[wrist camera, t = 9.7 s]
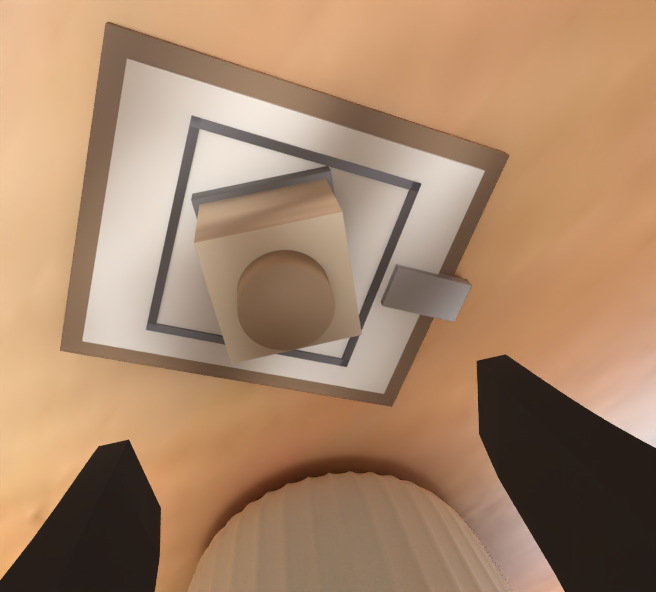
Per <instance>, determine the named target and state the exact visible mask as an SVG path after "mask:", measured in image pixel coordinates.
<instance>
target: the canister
mask: <svg viewBox="0 0 656 592" xmlns="http://www.w3.org/2000/svg"><path fill="white" fill-rule="evenodd" d="M187 592H512V591H511V589H510V588H509V586H508V584H507V583H506V581H505V580H504V578H503V576H502V575H501V573H500V572H499V570H498V569H497V567H496V565H495V564H494V562H493V561H492V559H491V558H490V556H489V554H488V553H487V551H486V550H485V548H484V547H483V545H482V544H481V542H480V541H479V539H478V538H477V536H476V535H475V534H474V533H473V531H472V530H471V529H470V528H469V526H468V525H467V524H466V523H465V522H464V521H463V520H462V518H461V517H460V516H459V514H458V513H457V512H456V511H455V510H454V509H453V508H452V507H450V506H449V505H448V504H447V503H445V502H444V501H442V500H440V499H439V497H437V496H436V495H435V494H433V493H432V492H430V491H429V490H427V489H424V488H420V487H419V486H417V485H416V484H415V483H413V482H411V481H407V480H399V479H398V478H396V477H394V476H392V475H384V476H383V475H377V474H375V473H373V472H366V473H354V472H351V471H348V472H346V473H341V474H332V473H327V474H326V475H324V476H320V477H313V478H311V477H307V478H306V479H304V480H302V481H299V482H296V483H287V484H286V485H285V486H284V487H282V488H280V489H278V490H276V491H270V492H267V493H266V494H265V495H264V496H263V497H262V498H261V499H259V500H257V501H253V502H250V503H249V504H248V505H247V506H246V507H245V508H244V510H243V511H242V512H240V513H237V514H235V515H234V516H233V517H232V518H231V519H230V520H229V521H228V522H227V524H226V526H225V527H223V528H222V529H221V530H219V532H218V533H217V534H216V535H215V536H214V538H213V540H212V541H211V543H210V545H209V547H208V548H207V549H206V550H205V552H204V553H203V555H202V557H201V558H200V560H199V563H198V565H197V567H196V570H195V573H194V576H193V578H192V580H191V582H190V585H189V588H188V591H187Z"/></svg>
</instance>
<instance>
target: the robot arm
mask: <svg viewBox="0 0 656 592" xmlns="http://www.w3.org/2000/svg"><path fill="white" fill-rule="evenodd" d="M477 382H478V412H479V434H480V437H481V439H482V442H483V444H484V446H485V449H486V451H487V453H488V456H489V458H490V460H491V462H492V465H493V467H494V469H495V471H496V473H497V476H498V478H499V480H500V481H501V483H502V485H503V487H504V488H505V490H506V492H507V493H508V495H509V497H510V499H511V500H512V502H513V504H514V505H515V507H516V509H517V510H518V512H519V514H520V516H521V517H522V519H523V521H524V522H525V524H526V526H527V527H528V529H529V531H530V532H531V534H532V536H533V537H534V539H535V541H536V543H537V544H538V546H539V548H540V549H541V551H542V553H543V554H544V556H545V558H546V559H547V561H548V563H549V564H550V566H551V568H552V569H553V571H554V573H555V575H556V576H557V578H558V580H559V582H560V584H561V586H562V587H563V589H564V591H565V592H656V448H654V447H653V446H651V445H649V444H647V443H645V442H643V441H641V440H639V439H638V438H636V437H634V436H632V435H631V434H629V433H627V432H625V431H623V430H622V429H620V428H618V427H616V426H615V425H613V424H611V423H609V422H608V421H606V420H604V419H603V418H601V417H599V416H598V415H596V414H594V413H593V412H591V411H590V410H588V409H586V408H585V407H583V406H582V405H580V404H579V403H577V402H575V401H574V400H572V399H571V398H569V397H568V396H566V395H565V394H563V393H562V392H560V391H559V390H557V389H556V388H554V387H553V386H551V385H550V384H548V383H547V382H545V381H544V380H542V379H541V378H539V377H538V376H536V375H535V374H533V373H532V372H530V371H529V370H528V369H526V368H525V367H523V366H522V365H520V364H519V363H517V362H516V361H514V360H513V359H511V358H510V357H508V356H507V355H501V356H497V357H492V358H488V359H483V360H479V361H477ZM160 525H161V507H160V505H159V503H158V501H157V499H156V497H155V495H154V492H153V490H152V488H151V486H150V484H149V482H148V480H147V477H146V475H145V473H144V471H143V469H142V467H141V465H140V462H139V460H138V458H137V456H136V454H135V452H134V450H133V447H132V445H131V443H130V441H129V440H125V441H121V442H116V443H112V444H107V445H103V446H99V447H98V448H97V449H96V451H95V452H94V453H93V455H92V456H91V458H90V459H89V460H88V462H87V463H86V465H85V466H84V468H83V469H82V470H81V472H80V473H79V475H78V476H77V478H76V479H75V480H74V482H73V483H72V485H71V486H70V488H69V489H68V490H67V492H66V493H65V495H64V496H63V498H62V499H61V500H60V502H59V503H58V505H57V506H56V508H55V509H54V510H53V512H52V513H51V514H50V516H49V517H48V519H47V520H46V521H45V523H44V524H43V526H42V527H41V528H40V530H39V531H38V532H37V534H36V535H35V537H34V538H33V539H32V541H31V542H30V543H29V544H28V546H27V547H26V548H25V550H24V551H23V552H22V553H21V555H20V556H19V557H18V559H17V560H16V561H15V562H14V564H13V565H12V566H11V567H10V569H9V570H8V571H7V573H6V574H5V575H4V576H3V578H2V579H1V580H0V592H155V585H156V578H157V572H158V565H159V556H160Z"/></svg>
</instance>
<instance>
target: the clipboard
mask: <svg viewBox="0 0 656 592" xmlns="http://www.w3.org/2000/svg"><path fill="white" fill-rule="evenodd" d="M508 157H509V155H508V154H507V153H505V152H502V151H499V150H496V149H493V148H490V147H487V146H484V145H481V144H478V143H475V142H472V141H469V140H466V139H463V138H460V137H457V136H454V135H451V134H448V133H444V132H441V131H438V130H435V129H432V128H429V127H426V126H423V125H420V124H417V123H414V122H411V121H408V120H405V119H402V118H399V117H396V116H393V115H390V114H387V113H384V112H381V111H378V110H374V109H371V108H368V107H365V106H362V105H359V104H356V103H353V102H350V101H347V100H344V99H341V98H338V97H335V96H332V95H329V94H326V93H323V92H320V91H317V90H314V89H311V88H308V87H304V86H301V85H298V84H295V83H292V82H289V81H286V80H283V79H280V78H277V77H274V76H271V75H268V74H265V73H262V72H259V71H256V70H253V69H250V68H247V67H244V66H241V65H237V64H234V63H231V62H228V61H225V60H222V59H219V58H216V57H213V56H210V55H207V54H204V53H201V52H198V51H195V50H192V49H189V48H186V47H183V46H180V45H177V44H174V43H171V42H167V41H164V40H161V39H158V38H155V37H152V36H149V35H146V34H143V33H140V32H137V31H134V30H131V29H128V28H125V27H122V26H119V25H116V24H113V23H110V22H107V23H106V25H105V32H104V39H103V46H102V53H101V60H100V68H99V75H98V82H97V89H96V96H95V103H94V111H93V118H92V125H91V132H90V139H89V147H88V154H87V161H86V168H85V175H84V182H83V190H82V197H81V204H80V211H79V218H78V225H77V233H76V240H75V247H74V254H73V261H72V268H71V276H70V283H69V290H68V297H67V304H66V312H65V319H64V326H63V333H62V340H61V347H60V351H65V352H71V353H77V354H83V355H89V356H95V357H101V358H106V359H112V360H118V361H124V362H130V363H136V364H142V365H148V366H154V367H160V368H166V369H172V370H178V371H184V372H190V373H196V374H201V375H207V376H213V377H219V378H225V379H231V380H237V381H243V382H249V383H255V384H261V385H267V386H273V387H279V388H285V389H291V390H297V391H302V392H308V393H314V394H320V395H326V396H332V397H338V398H344V399H350V400H356V401H362V402H368V403H374V404H380V405H386V406H393V403H394V401H395V399H396V397H397V395H398V393H399V391H400V388H401V386H402V384H403V382H404V380H405V378H406V376H407V373H408V371H409V369H410V367H411V365H412V363H413V361H414V358H415V356H416V354H417V352H418V350H419V348H420V346H421V343H422V341H423V339H424V337H425V335H426V333H427V331H428V328H429V326H430V324H431V322H432V320H433V318H438V319H443V320H447V321H452V322H455V319H456V317H457V315H458V313H459V311H460V309H461V307H462V305H463V303H464V301H465V299H466V297H467V295H468V293H469V291H470V289H471V287H472V285H471V284H470V283H469V282H468V280H467V279H463V278H458V277H454V276H453V275H454V273H455V271H456V269H457V266H458V264H459V262H460V260H461V258H462V256H463V254H464V251H465V249H466V247H467V245H468V243H469V241H470V239H471V236H472V234H473V232H474V230H475V228H476V226H477V224H478V221H479V219H480V217H481V215H482V213H483V211H484V209H485V206H486V204H487V202H488V200H489V198H490V196H491V194H492V191H493V189H494V187H495V185H496V183H497V181H498V179H499V176H500V174H501V172H502V170H503V168H504V166H505V164H506V161H507V159H508ZM324 166H329V168H330V170H331V174H332V180H333V186H334V192H335V198H336V200H337V202H338V204H339V206H340V208H341V210H342V212H343V218H344V225H345V231H346V237H347V244H348V250H349V256H350V263H351V269H352V275H353V282H354V288H355V294H356V301H357V307H358V313H359V320H360V326H361V332H362V335H359V336H354V337H350V338H345V339H341V340H336V341H332V342H328V343H323V344H319V345H314V346H310V347H305V348H301V349H296V350H292V351H287V352H283V353H278V354H274V355H269V356H265V357H260V358H256V359H251V360H247V361H242V362H238V363H233V364H231V361H230V358H229V355H228V352H227V348H226V345H225V342H224V339H223V336H222V332H221V329H220V326H219V323H218V319H217V316H216V313H215V310H214V307H213V303H212V300H211V297H210V294H209V290H208V287H207V284H206V281H205V277H204V274H203V271H202V268H201V265H200V261H199V258H198V255H197V252H196V248H195V245H194V239H195V232H196V225H197V218H196V215H195V211H194V208H193V205H192V201H191V198H192V194H193V193H198V192H203V191H208V190H213V189H217V188H222V187H227V186H232V185H237V184H242V183H247V182H251V181H256V180H261V179H266V178H271V177H276V176H281V175H285V174H290V173H295V172H300V171H305V170H310V169H315V168H319V167H324Z"/></svg>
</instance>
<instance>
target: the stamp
mask: <svg viewBox="0 0 656 592" xmlns="http://www.w3.org/2000/svg"><path fill="white" fill-rule="evenodd" d="M191 201H192V205H193V208H194V211H195V215H196V218H197V225H196V232H195V239H194V245H195V248H196V252H197V255H198V258H199V261H200V265H201V268H202V271H203V274H204V277H205V281H206V284H207V287H208V290H209V294H210V297H211V300H212V303H213V307H214V310H215V313H216V316H217V319H218V323H219V326H220V329H221V332H222V336H223V339H224V342H225V345H226V348H227V352H228V355H229V358H230V361H231V364H233V363H238V362H242V361H247V360H251V359H256V358H260V357H265V356H269V355H274V354H278V353H283V352H287V351H292V350H296V349H301V348H305V347H310V346H314V345H319V344H323V343H328V342H332V341H336V340H341V339H345V338H350V337H354V336H359V335H362V332H361V326H360V320H359V313H358V307H357V301H356V294H355V288H354V282H353V275H352V269H351V263H350V256H349V250H348V244H347V237H346V231H345V225H344V218H343V212H342V210H341V208H340V206H339V204H338V202H337V200H336V198H335V192H334V186H333V180H332V174H331V170H330V168H329V166H324V167H319V168H315V169H310V170H305V171H300V172H295V173H290V174H285V175H281V176H276V177H271V178H266V179H261V180H256V181H251V182H247V183H242V184H237V185H232V186H227V187H222V188H217V189H213V190H208V191H203V192H198V193H193V194H192V198H191Z"/></svg>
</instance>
